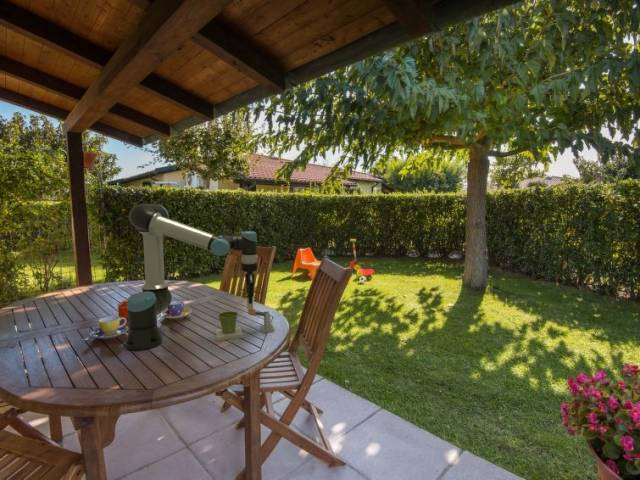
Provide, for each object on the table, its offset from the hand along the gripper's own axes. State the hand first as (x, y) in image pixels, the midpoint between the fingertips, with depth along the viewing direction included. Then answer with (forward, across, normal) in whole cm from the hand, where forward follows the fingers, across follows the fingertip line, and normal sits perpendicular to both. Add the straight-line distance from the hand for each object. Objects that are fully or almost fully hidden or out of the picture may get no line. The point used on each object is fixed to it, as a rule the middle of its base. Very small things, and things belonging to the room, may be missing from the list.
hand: (250, 309), depth 172 cm
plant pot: (+11, +1, +10) cm, 15 cm away
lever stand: (+12, 0, -9) cm, 15 cm away
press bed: (+12, 0, +10) cm, 16 cm away
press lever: (+4, 0, -4) cm, 6 cm away
